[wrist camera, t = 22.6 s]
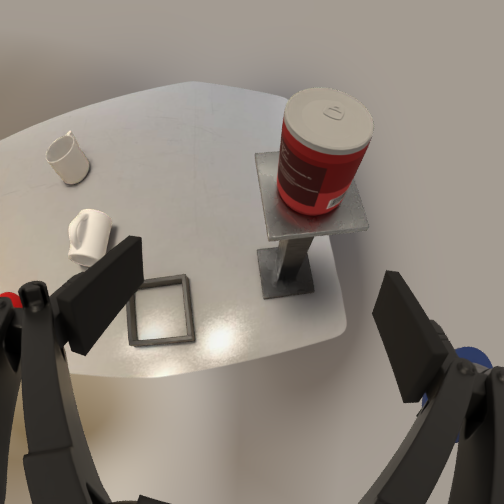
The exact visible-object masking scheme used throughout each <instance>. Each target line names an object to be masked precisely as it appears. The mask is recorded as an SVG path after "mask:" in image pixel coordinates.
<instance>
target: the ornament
mask: <svg viewBox="0 0 504 504" xmlns="http://www.w3.org/2000/svg"><path fill="white" fill-rule="evenodd" d="M0 297H9V298H10V299H11V301H12V304H13V307H17V308H23V307H22V303H21V300H20V297H19V296H18V295H16V294H15V293H12V292H5V293H2V294H1V295H0Z"/></svg>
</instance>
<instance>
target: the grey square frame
mask: <svg viewBox="0 0 504 504" xmlns="http://www.w3.org/2000/svg"><path fill="white" fill-rule="evenodd" d="M178 283H182V287H183V298H184V308H185V317H186V326H187V335H188V336H180V337H170V338H160V339H150V340H139V341H137V329H136V315H135V297H134V295H133V296H132V297H131V298H130V299H129V301H128V302H127V303H126V311H127V327H128V340H129V345H130V346H134V347H136V346H148V345H160V344H170V343H180V342H189V341H195V335H194V326H193V318H192V309H191V300H190V290H189V280H188V277H187V276H186V274H182V275H175V276H168V277H160V278H153V279H146V280H144V282H143V284H142V285H141V286H140V287H139V288H138V289H142V288H149V287H157V286H164V285H171V284H178Z"/></svg>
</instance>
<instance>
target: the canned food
mask: <svg viewBox="0 0 504 504" xmlns="http://www.w3.org/2000/svg"><path fill="white" fill-rule="evenodd" d="M373 130H374V123H373V119H372V117H371V114H370V113H369V111H368V110H367V109H366V107H365V106H364V105H363V104H362V103H361V102H359V101H358V100H357V99H355V98H354V97H352V96H350V95H348V94H346V93H344V92H341V91H338V90H335V89H330V88H321V87H319V88H310V89H305V90H302V91H300V92H298V93H296V94H294V95H293V96H292V97H291V98H290V99H289V101H288V102H287V104H286V108H285V111H284V117H283V124H282V134H281V144H280V154H279V163H278V173H277V187H278V191H279V193H280V195H281V197H282V199H283V201H284V202H285V203H286V204H287V205H288V206H289V207H290V208H291V209H293V210H295V211H296V212H298V213H301V214H304V215H310V216H318V215H323V214H325V213H328V212H330V211H331V210H333V209H334V208H336V207H337V206H338V205H339V204H340V203H341V202H342V200H343V198H344V196H345V194H346V192H347V190H348V188H349V186H350V184H351V182H352V180H353V178H354V176H355V174H356V172H357V169H358V167H359V165H360V163H361V161H362V159H363V157H364V154H365V152H366V150H367V148H368V145H369V143H370V141H371V138H372V134H373Z"/></svg>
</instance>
